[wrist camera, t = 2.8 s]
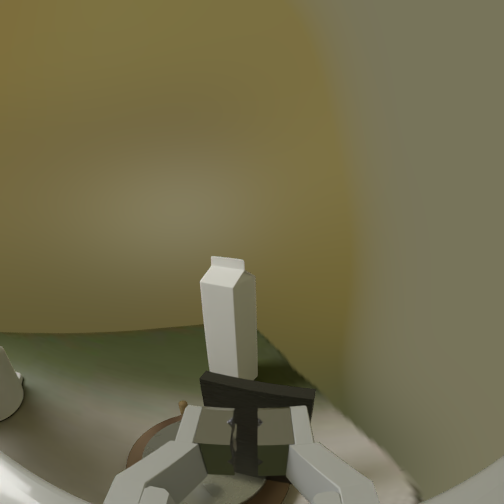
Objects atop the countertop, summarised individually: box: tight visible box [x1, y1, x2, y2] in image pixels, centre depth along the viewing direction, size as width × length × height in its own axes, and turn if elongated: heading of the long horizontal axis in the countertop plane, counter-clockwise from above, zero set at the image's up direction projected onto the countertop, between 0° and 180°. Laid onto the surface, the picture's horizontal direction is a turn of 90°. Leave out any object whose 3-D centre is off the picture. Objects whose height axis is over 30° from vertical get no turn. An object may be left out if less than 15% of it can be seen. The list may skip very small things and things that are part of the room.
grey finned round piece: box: [142, 371, 316, 504], centre depth 23 cm, size 18×17×15 cm
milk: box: [200, 256, 258, 380], centre depth 42 cm, size 6×6×22 cm
